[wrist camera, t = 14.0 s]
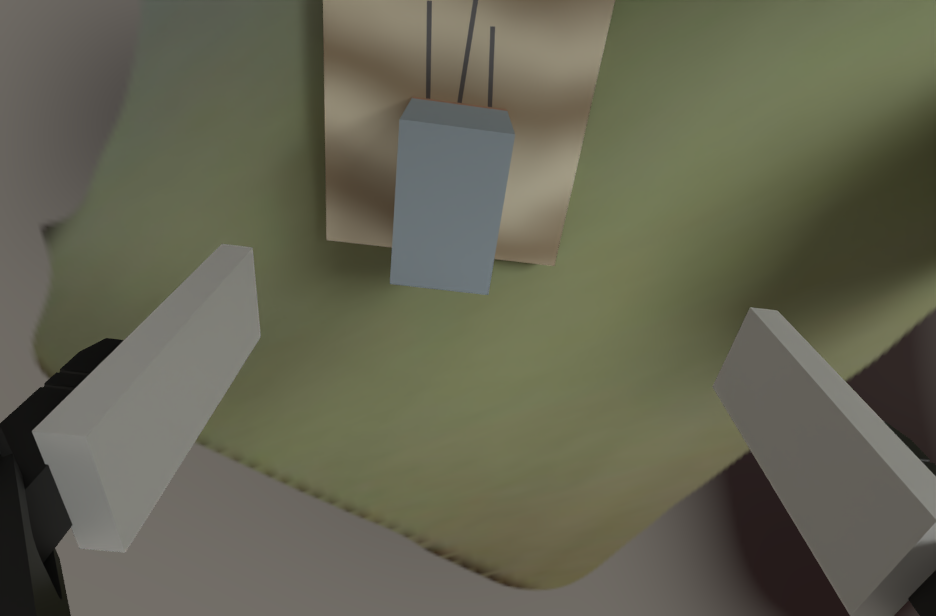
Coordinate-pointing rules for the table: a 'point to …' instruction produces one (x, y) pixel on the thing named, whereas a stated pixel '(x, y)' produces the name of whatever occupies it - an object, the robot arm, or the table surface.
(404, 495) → the table surface
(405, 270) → the block
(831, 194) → the table surface
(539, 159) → the board
